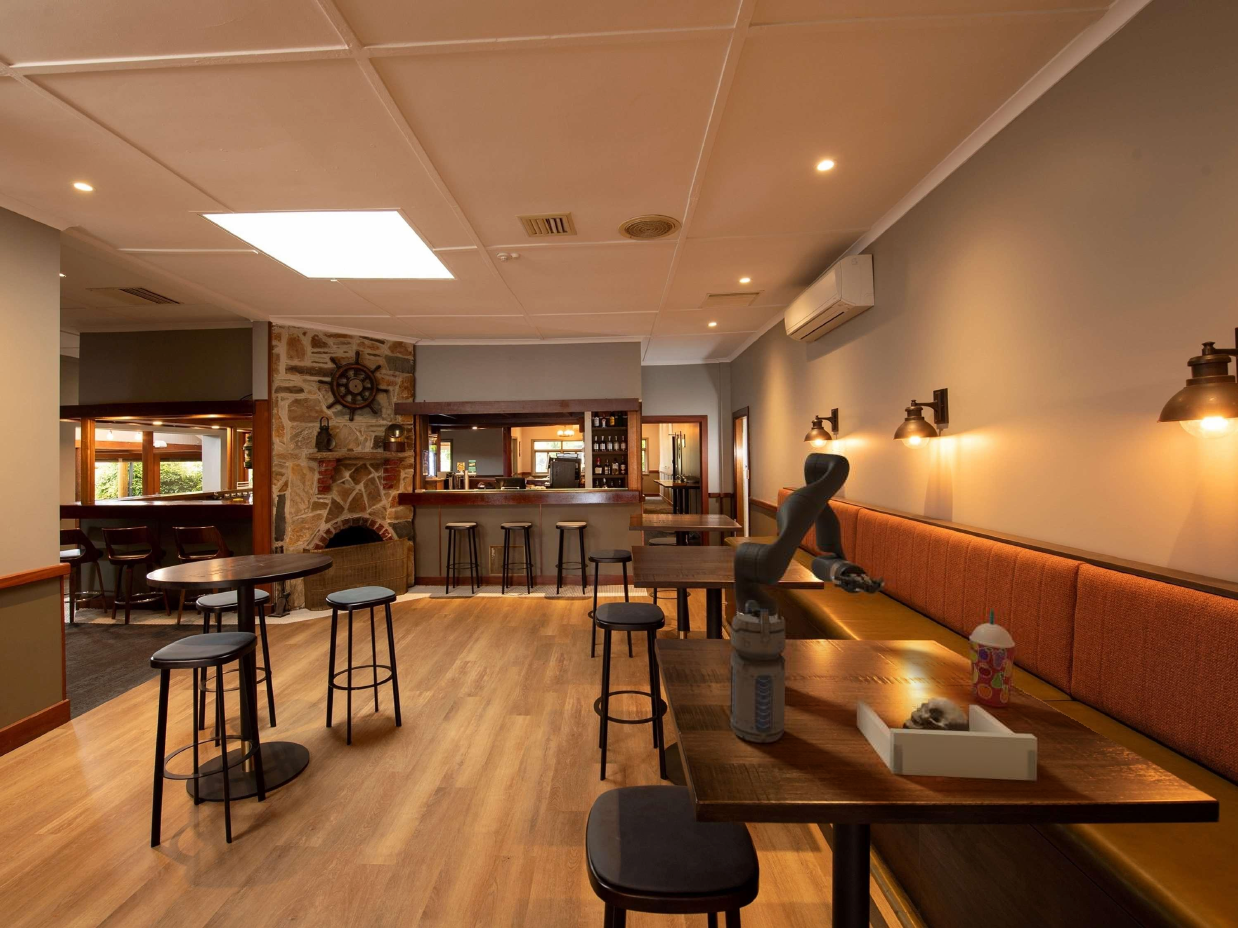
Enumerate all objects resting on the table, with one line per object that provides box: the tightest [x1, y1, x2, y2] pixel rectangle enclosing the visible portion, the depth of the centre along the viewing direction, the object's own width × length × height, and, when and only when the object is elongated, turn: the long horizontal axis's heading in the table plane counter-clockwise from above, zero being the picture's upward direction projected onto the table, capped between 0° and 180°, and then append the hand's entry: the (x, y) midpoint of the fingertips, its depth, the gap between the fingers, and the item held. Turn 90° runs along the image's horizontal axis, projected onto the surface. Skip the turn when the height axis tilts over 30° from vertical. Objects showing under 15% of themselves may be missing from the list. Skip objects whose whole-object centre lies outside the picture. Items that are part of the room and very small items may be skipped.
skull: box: [902, 696, 970, 732], centre depth 108 cm, size 12×10×10 cm
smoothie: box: [968, 610, 1016, 708], centre depth 124 cm, size 8×8×20 cm
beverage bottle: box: [729, 600, 786, 744], centre depth 110 cm, size 10×13×25 cm
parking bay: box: [856, 700, 1038, 782], centre depth 103 cm, size 23×18×7 cm
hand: (871, 589), depth 136 cm, fingers closed
